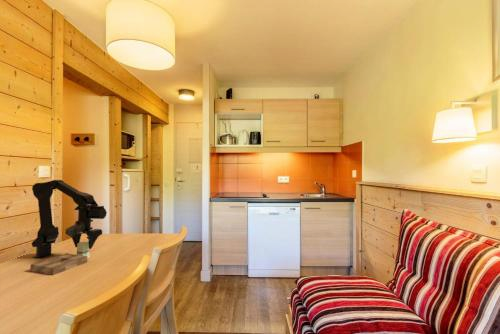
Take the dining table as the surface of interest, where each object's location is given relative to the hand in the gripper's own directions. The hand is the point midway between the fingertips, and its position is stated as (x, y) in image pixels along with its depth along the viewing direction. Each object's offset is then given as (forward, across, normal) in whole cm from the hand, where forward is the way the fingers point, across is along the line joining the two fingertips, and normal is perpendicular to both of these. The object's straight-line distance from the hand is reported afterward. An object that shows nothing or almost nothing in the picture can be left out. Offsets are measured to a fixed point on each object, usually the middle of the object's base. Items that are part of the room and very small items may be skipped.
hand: (83, 248), depth 126 cm
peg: (+5, 0, 0) cm, 5 cm away
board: (+5, +1, -12) cm, 14 cm away
